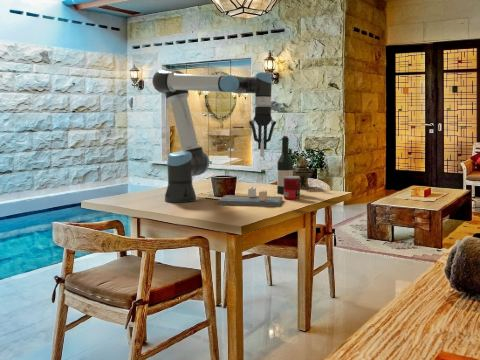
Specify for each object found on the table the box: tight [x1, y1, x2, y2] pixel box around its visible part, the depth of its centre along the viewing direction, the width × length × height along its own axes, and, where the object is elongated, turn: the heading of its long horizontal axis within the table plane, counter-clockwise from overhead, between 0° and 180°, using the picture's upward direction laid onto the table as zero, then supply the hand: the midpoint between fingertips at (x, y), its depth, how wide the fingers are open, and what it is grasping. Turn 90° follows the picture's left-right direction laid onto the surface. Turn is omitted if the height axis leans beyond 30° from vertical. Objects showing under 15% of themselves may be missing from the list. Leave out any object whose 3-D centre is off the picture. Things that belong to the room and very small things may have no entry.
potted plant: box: [293, 152, 313, 190], centre depth 291 cm, size 20×10×20 cm, turn 7°
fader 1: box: [247, 186, 257, 197], centre depth 249 cm, size 3×5×4 cm, turn 170°
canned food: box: [283, 176, 301, 201], centre depth 255 cm, size 8×8×11 cm
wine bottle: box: [276, 135, 294, 195], centre depth 271 cm, size 8×8×30 cm
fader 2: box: [258, 189, 268, 201], centre depth 239 cm, size 3×5×4 cm, turn 170°
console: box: [218, 194, 283, 207], centre depth 245 cm, size 28×16×2 cm, turn 80°
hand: (262, 156), depth 246 cm, fingers closed
